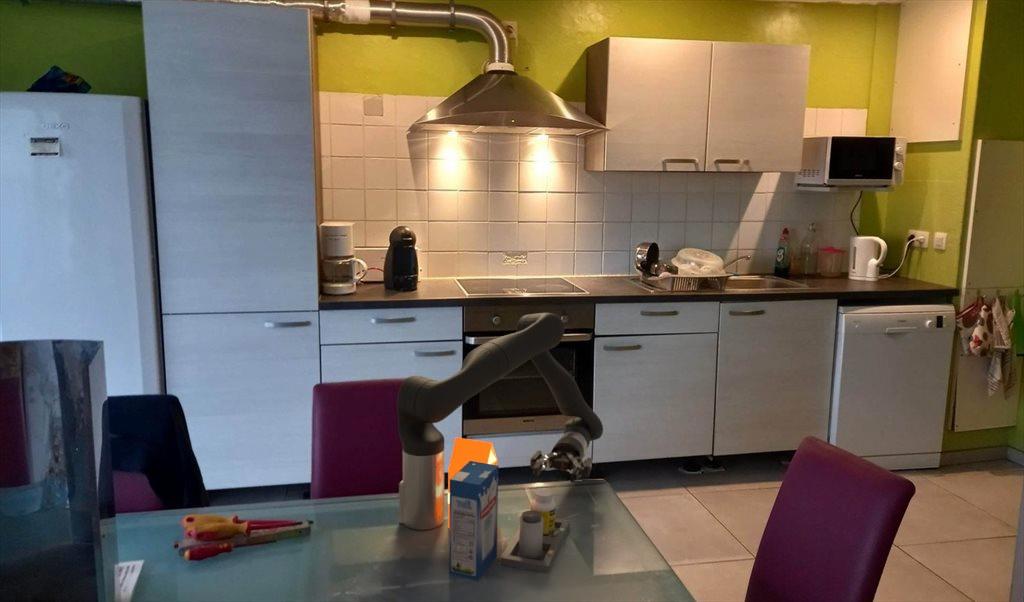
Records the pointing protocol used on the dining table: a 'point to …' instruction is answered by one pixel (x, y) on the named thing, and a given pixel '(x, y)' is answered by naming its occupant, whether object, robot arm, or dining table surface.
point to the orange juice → (468, 458)
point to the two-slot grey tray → (548, 544)
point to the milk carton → (473, 520)
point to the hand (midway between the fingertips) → (554, 475)
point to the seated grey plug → (531, 535)
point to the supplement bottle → (545, 509)
